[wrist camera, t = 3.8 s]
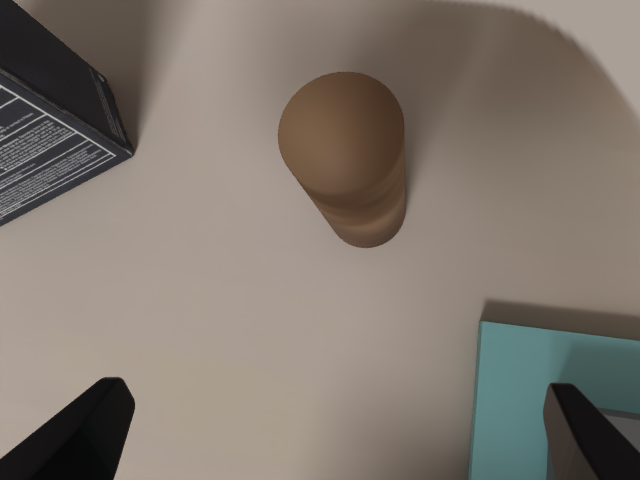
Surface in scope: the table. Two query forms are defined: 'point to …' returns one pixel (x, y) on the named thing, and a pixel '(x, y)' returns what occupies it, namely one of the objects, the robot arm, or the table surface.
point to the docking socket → (543, 394)
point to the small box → (50, 117)
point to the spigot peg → (348, 154)
